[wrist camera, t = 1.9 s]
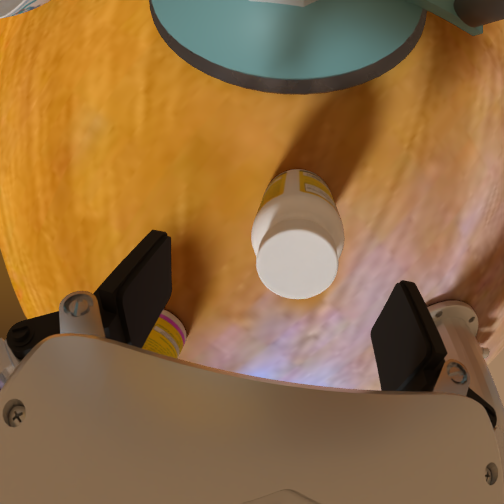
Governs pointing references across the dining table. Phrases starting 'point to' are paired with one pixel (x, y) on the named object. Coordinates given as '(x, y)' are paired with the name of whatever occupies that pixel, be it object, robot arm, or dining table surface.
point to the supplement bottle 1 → (166, 336)
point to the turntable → (308, 31)
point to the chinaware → (18, 6)
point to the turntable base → (293, 85)
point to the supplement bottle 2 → (297, 235)
